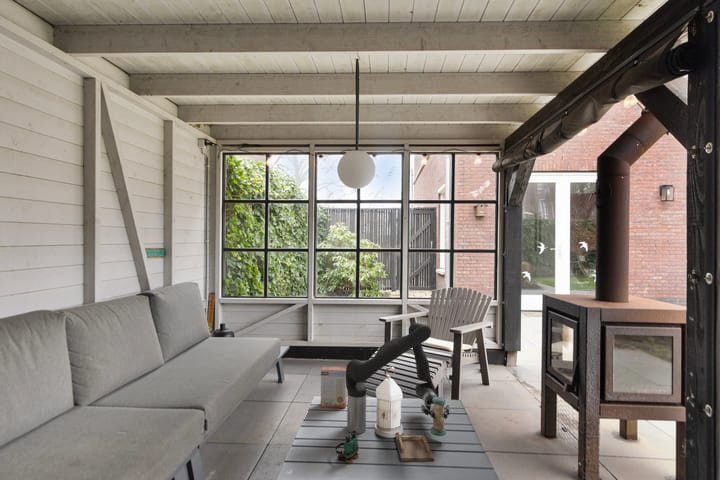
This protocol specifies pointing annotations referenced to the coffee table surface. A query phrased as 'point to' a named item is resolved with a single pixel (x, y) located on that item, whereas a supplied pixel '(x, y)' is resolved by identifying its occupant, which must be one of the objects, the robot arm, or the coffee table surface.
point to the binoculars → (349, 448)
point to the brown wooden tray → (414, 448)
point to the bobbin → (438, 417)
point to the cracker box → (333, 387)
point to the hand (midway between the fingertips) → (440, 416)
